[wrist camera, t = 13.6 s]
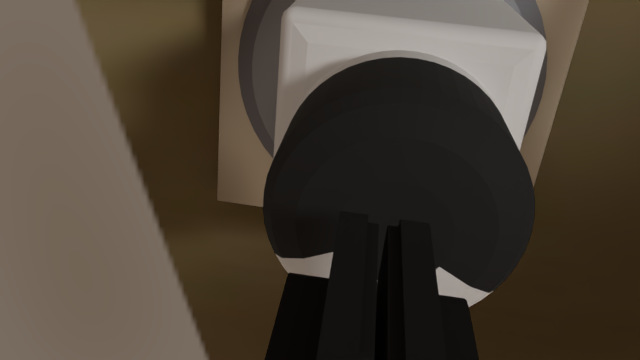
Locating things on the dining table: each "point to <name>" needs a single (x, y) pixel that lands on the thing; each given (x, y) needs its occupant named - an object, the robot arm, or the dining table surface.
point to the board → (262, 81)
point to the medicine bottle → (405, 132)
